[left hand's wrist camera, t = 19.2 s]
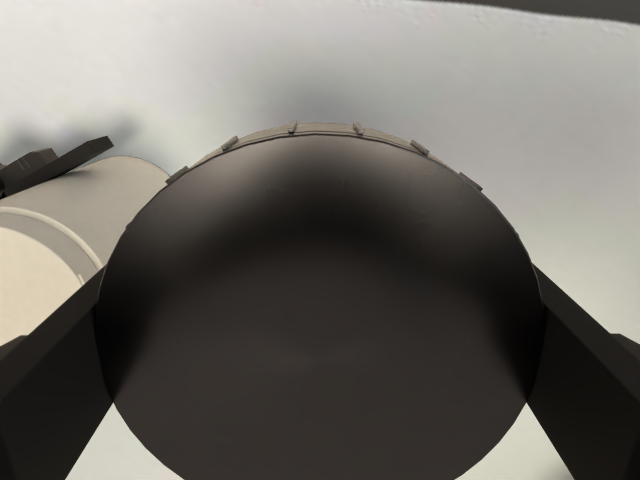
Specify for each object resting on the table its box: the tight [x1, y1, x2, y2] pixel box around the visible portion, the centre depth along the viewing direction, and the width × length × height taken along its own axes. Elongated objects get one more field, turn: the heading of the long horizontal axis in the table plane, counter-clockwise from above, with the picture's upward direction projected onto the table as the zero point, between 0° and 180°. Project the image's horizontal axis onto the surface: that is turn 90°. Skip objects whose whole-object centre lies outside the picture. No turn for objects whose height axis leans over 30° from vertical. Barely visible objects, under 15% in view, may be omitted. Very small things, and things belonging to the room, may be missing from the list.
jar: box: [0, 156, 170, 346], centre depth 29 cm, size 9×9×16 cm
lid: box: [95, 121, 545, 480], centre depth 11 cm, size 10×10×2 cm
